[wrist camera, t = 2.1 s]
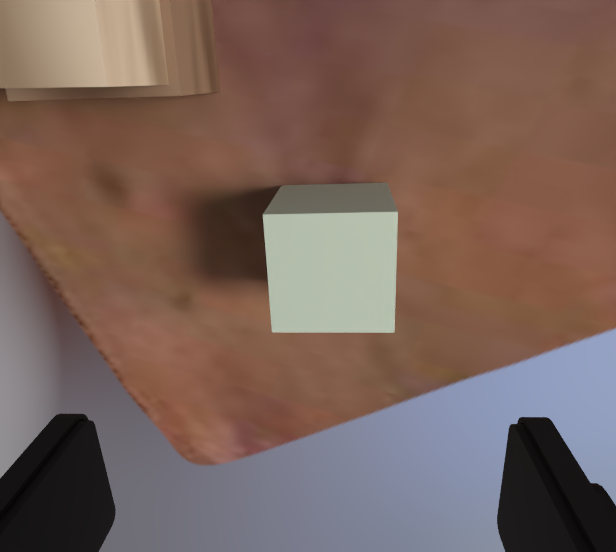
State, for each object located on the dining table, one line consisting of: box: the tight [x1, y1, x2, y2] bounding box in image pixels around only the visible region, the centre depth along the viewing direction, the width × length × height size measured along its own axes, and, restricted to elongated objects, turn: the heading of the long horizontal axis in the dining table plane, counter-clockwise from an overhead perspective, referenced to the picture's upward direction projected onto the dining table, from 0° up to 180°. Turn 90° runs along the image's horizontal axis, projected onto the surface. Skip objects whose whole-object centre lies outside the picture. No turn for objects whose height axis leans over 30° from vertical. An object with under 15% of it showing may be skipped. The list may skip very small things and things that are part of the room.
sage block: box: [263, 183, 398, 333], centre depth 24 cm, size 6×6×6 cm
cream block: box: [5, 0, 220, 101], centre depth 20 cm, size 7×7×6 cm
